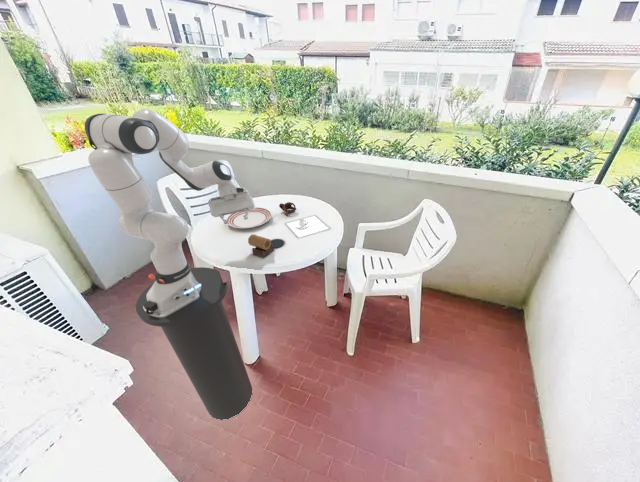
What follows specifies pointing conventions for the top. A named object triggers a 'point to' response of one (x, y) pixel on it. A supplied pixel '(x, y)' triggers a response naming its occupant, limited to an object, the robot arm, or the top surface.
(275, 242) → the coaster
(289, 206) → the brown openwork ring figurine
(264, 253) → the roll stand
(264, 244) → the paper roll
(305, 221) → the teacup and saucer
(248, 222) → the dinner plate
